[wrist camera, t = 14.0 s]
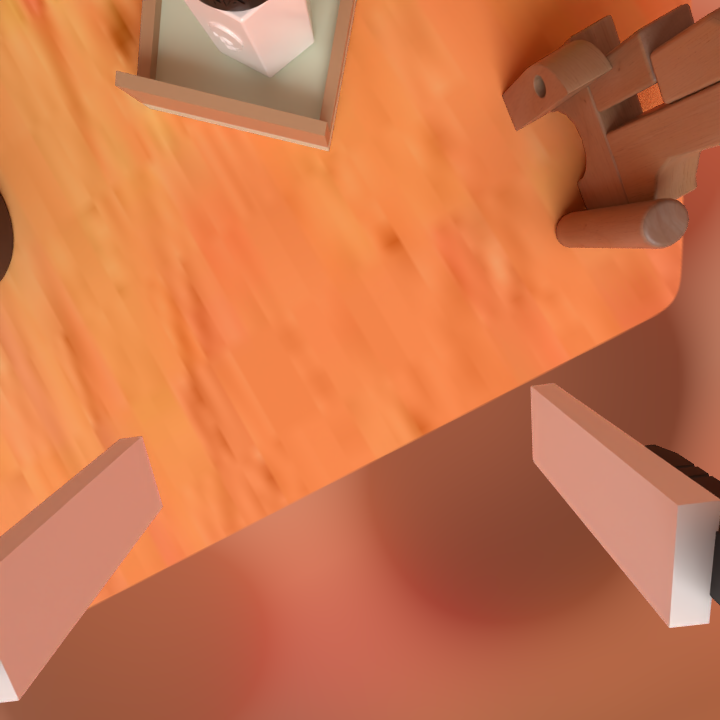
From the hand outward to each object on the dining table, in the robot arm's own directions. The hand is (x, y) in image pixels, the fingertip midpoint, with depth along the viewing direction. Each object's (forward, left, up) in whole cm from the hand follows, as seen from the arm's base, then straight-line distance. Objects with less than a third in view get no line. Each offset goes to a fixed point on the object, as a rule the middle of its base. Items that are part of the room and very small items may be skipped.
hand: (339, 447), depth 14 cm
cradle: (-13, +21, -29) cm, 38 cm away
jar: (-12, +22, -27) cm, 37 cm away
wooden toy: (+16, +18, -29) cm, 38 cm away
